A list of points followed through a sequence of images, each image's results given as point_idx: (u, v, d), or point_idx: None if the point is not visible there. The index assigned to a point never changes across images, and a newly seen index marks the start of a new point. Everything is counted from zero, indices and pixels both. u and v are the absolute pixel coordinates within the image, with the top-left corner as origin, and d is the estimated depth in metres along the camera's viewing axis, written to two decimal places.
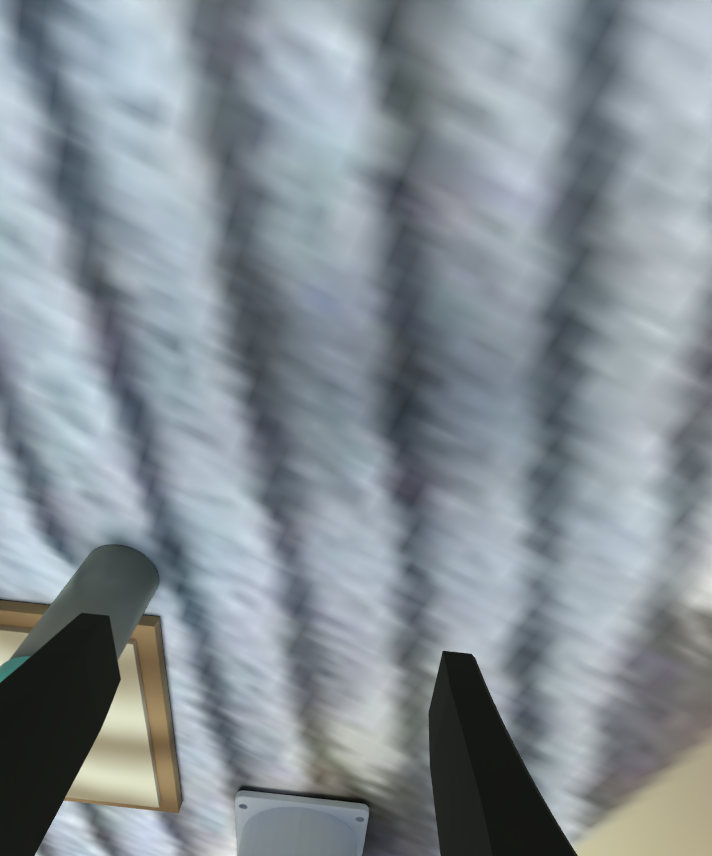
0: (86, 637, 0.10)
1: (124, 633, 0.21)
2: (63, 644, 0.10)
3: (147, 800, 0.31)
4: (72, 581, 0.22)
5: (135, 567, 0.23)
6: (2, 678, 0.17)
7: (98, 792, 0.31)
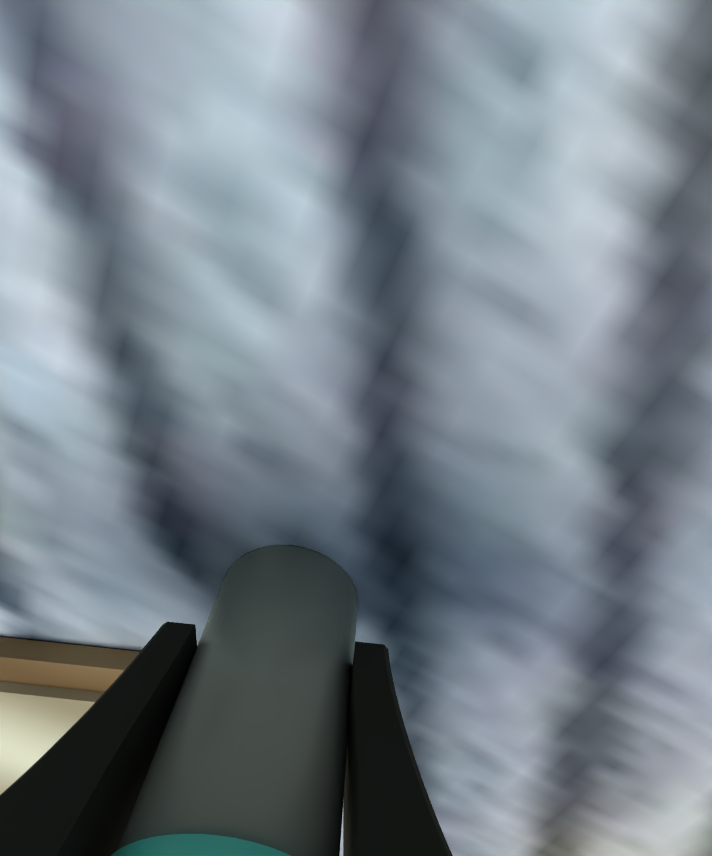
0: (178, 647, 0.10)
1: None
2: (158, 654, 0.10)
3: None
4: (227, 620, 0.11)
5: (333, 589, 0.12)
6: None
7: None
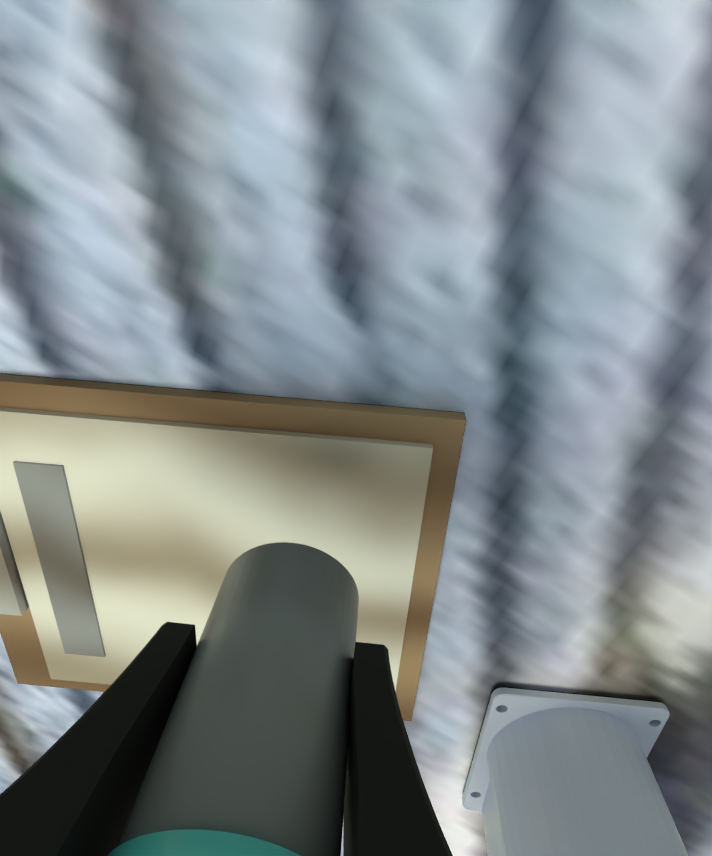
0: (178, 647, 0.10)
1: None
2: (157, 654, 0.10)
3: None
4: (229, 616, 0.11)
5: (335, 587, 0.12)
6: None
7: None
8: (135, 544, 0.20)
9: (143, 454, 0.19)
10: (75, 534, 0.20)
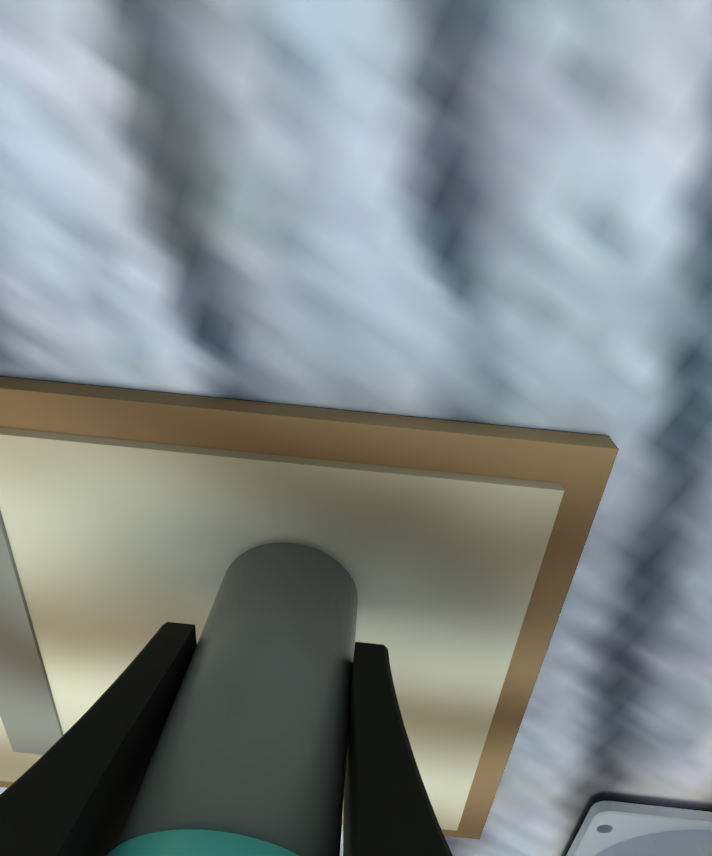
0: (178, 647, 0.10)
1: None
2: (157, 654, 0.10)
3: (441, 818, 0.18)
4: (228, 616, 0.11)
5: (334, 587, 0.12)
6: None
7: None
8: (108, 616, 0.14)
9: (118, 492, 0.12)
10: (20, 601, 0.14)
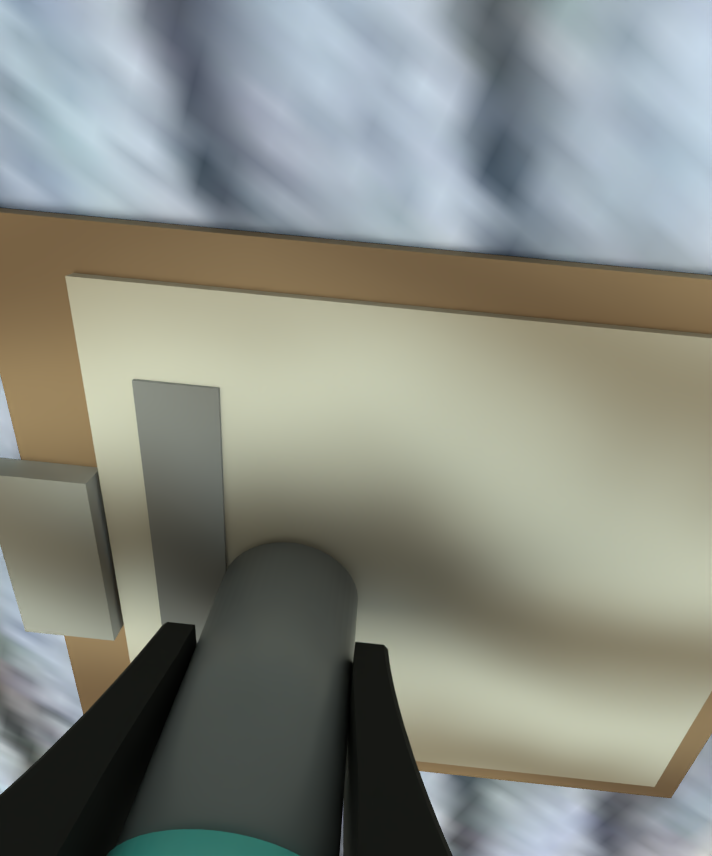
0: (178, 647, 0.10)
1: None
2: (158, 654, 0.10)
3: (640, 772, 0.16)
4: (228, 616, 0.11)
5: (334, 587, 0.12)
6: None
7: (547, 756, 0.16)
8: (316, 528, 0.12)
9: (367, 367, 0.10)
10: (219, 510, 0.12)
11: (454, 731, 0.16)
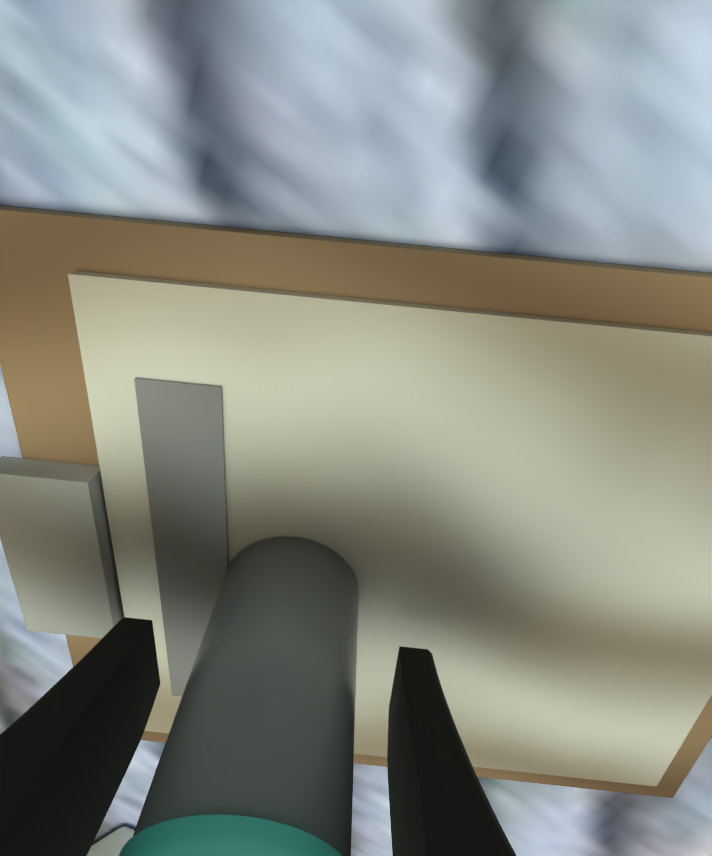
0: (132, 642, 0.10)
1: (354, 719, 0.10)
2: (110, 649, 0.10)
3: (642, 772, 0.16)
4: (234, 610, 0.11)
5: (337, 579, 0.12)
6: None
7: (549, 756, 0.16)
8: (319, 527, 0.12)
9: (370, 366, 0.10)
10: (221, 509, 0.12)
11: None
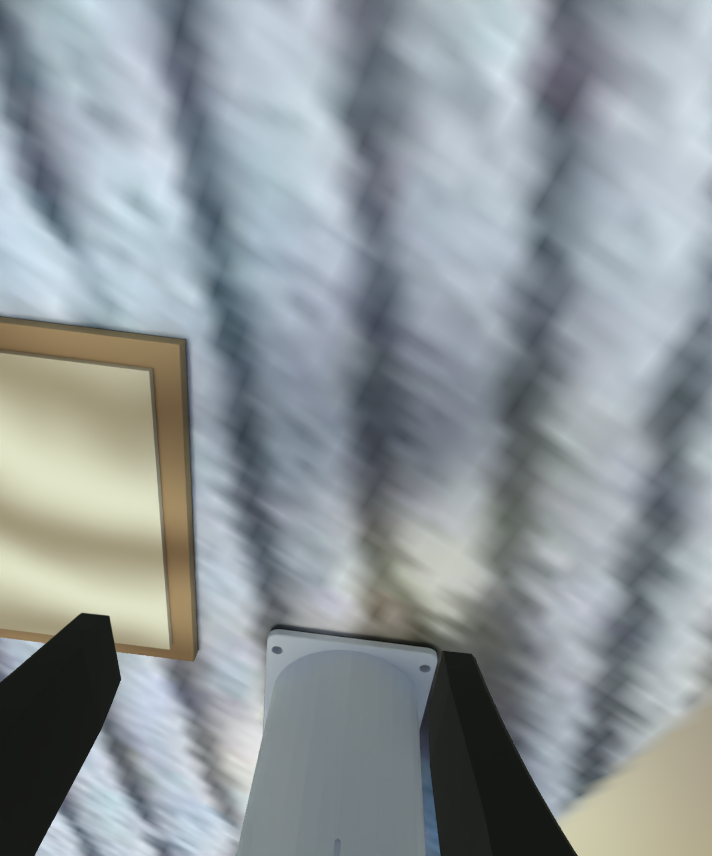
0: (86, 637, 0.10)
1: None
2: (63, 644, 0.10)
3: (155, 638, 0.24)
4: None
5: None
6: None
7: None
8: None
9: None
10: None
11: (27, 607, 0.24)
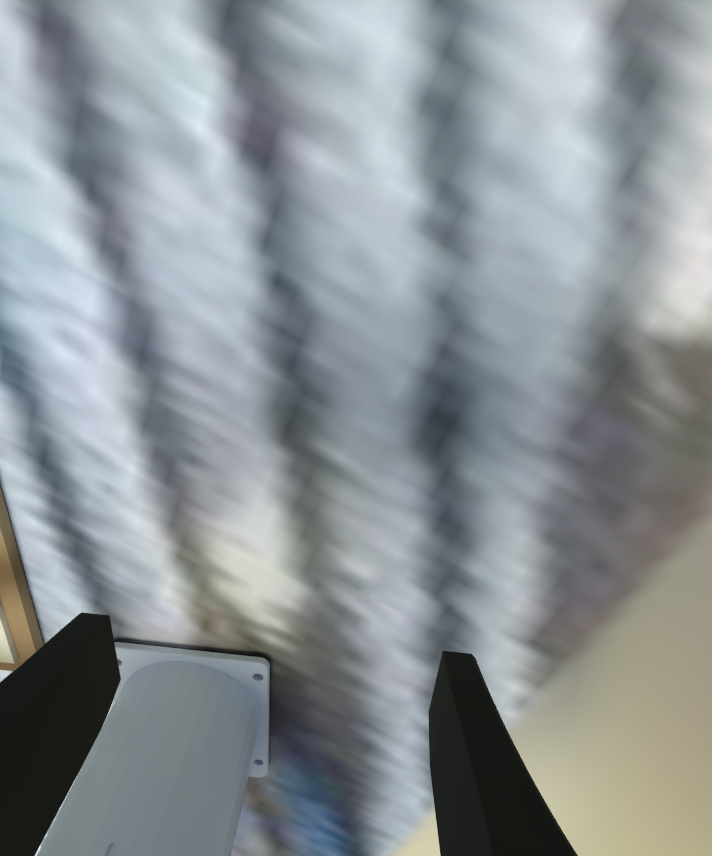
0: (86, 637, 0.10)
1: None
2: (63, 644, 0.10)
3: None
4: None
5: None
6: None
7: None
8: None
9: None
10: None
11: None
